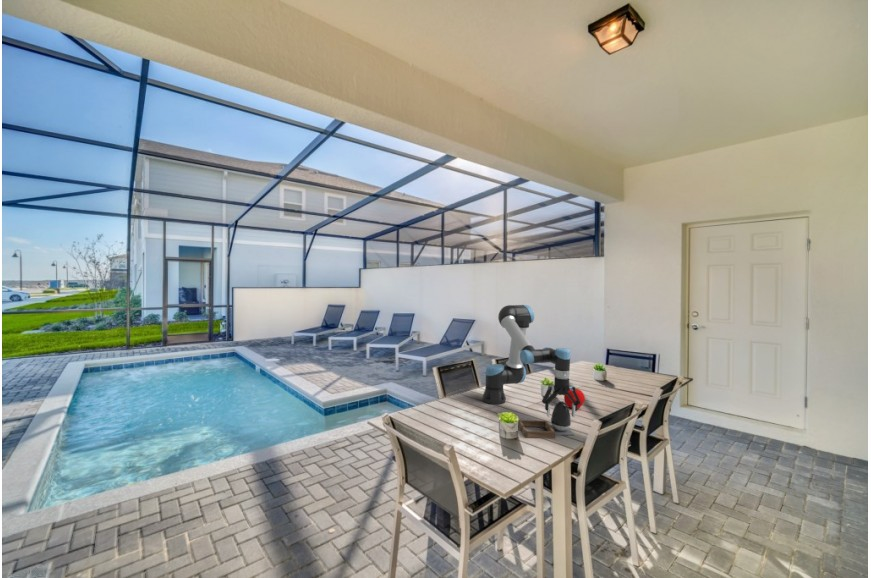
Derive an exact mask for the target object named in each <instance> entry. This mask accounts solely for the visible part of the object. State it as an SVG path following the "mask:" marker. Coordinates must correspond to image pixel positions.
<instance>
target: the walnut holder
mask: <svg viewBox="0 0 871 578" xmlns="http://www.w3.org/2000/svg"><path fill="white" fill-rule="evenodd" d="M550 425H551V424H550V423H549V421H547V420H529V419H528V420H523V419H519V420H518V427H519V430H520V431H521V433H522V434H523V436H524V438H525V439H526V438H527V439H556V435H555V431H554V430H553V429H552V427H551V426H550ZM527 427H528V428H529V427H534V428H535V427H536V428H538V427H540V428H541V427H543V428H545V429H546V430H545V431H544V430H543V431H542V430H541V431H538V430H528V429H527Z"/></svg>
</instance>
